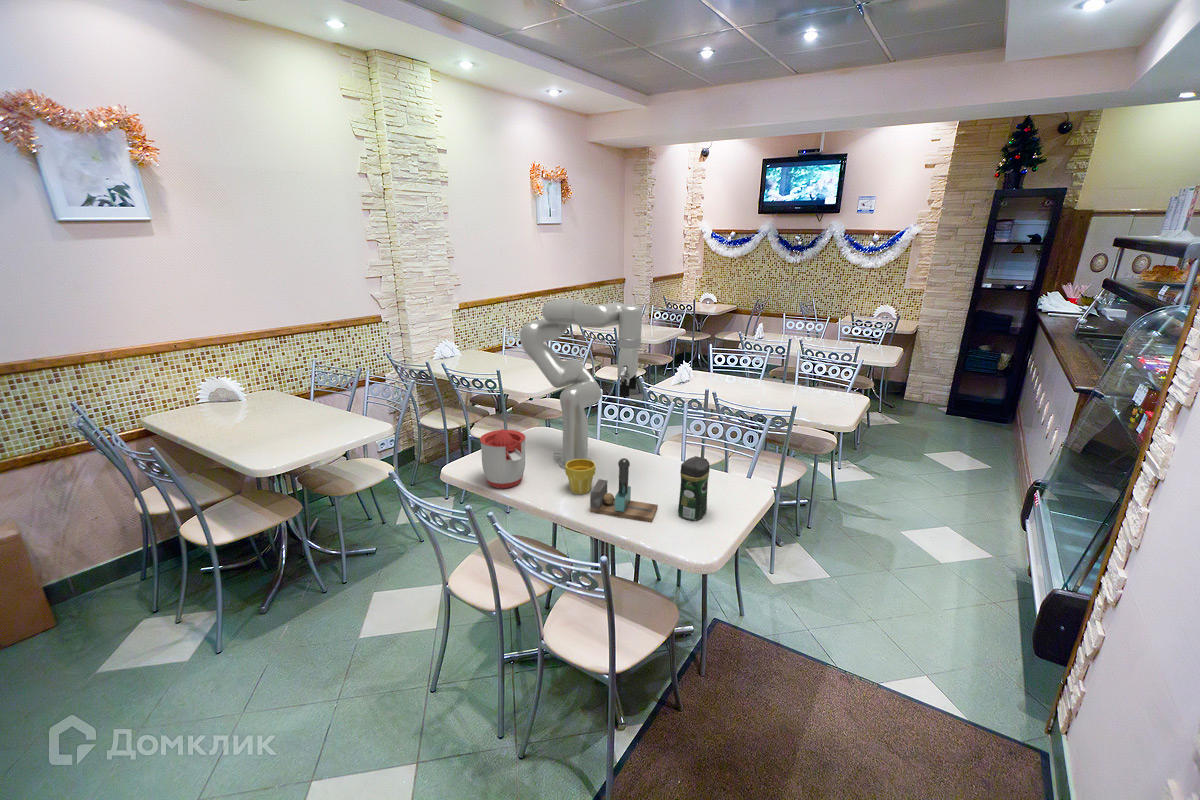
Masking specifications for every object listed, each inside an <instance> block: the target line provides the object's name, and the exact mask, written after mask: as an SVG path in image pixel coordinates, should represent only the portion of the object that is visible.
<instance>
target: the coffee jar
mask: <svg viewBox="0 0 1200 800" xmlns="http://www.w3.org/2000/svg"><path fill="white" fill-rule="evenodd" d="M710 470H711V469H710V462H709V460H708V459H707V458H705V457H700V456H698V455H697V456H696V455H695V456H692V457H690V458H688V459H685V461H683V462H682V463H681V465H680V472H679V473H680V487H679V489H680V490H679V498H678V499H679V500H678V508H677V514H678V515H679V516H680V517H681V518H683V519H685V520H689V521H698V520H700V519H701V518H702V517H703V516H705V514H706V513H707V509H708V485H709V476H710Z"/></svg>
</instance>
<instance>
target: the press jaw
mask: <svg viewBox="0 0 1200 800" xmlns="http://www.w3.org/2000/svg"><path fill="white" fill-rule="evenodd" d="M617 464H618V468H619V469H618V491H617V492H616V495H615V496H614V498H615V511H621V512H625V510H626V508H627V506H628V504H629V502H630V500H631V494H632V493H631V491H632V490H631V489H632V488H631V486H629V471H630V470H629V468H630V465H631V462H630V460H629V459H627V458H620V460H619V461H618V462H617Z"/></svg>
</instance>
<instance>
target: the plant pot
mask: <svg viewBox="0 0 1200 800" xmlns="http://www.w3.org/2000/svg"><path fill="white" fill-rule="evenodd" d="M564 472H565V475H566V476H567V479H568V483H569V487H570V491H571V493H574V494H576V495H586V494H588V493H590V491H591V489H592V488H591V487H592V482H593V478H594V476H595V475H596V463H595V461H593V460H592V459H591V460H588V459H574V460H570V461H568V462H567V463H566V465H565V469H564Z"/></svg>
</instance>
